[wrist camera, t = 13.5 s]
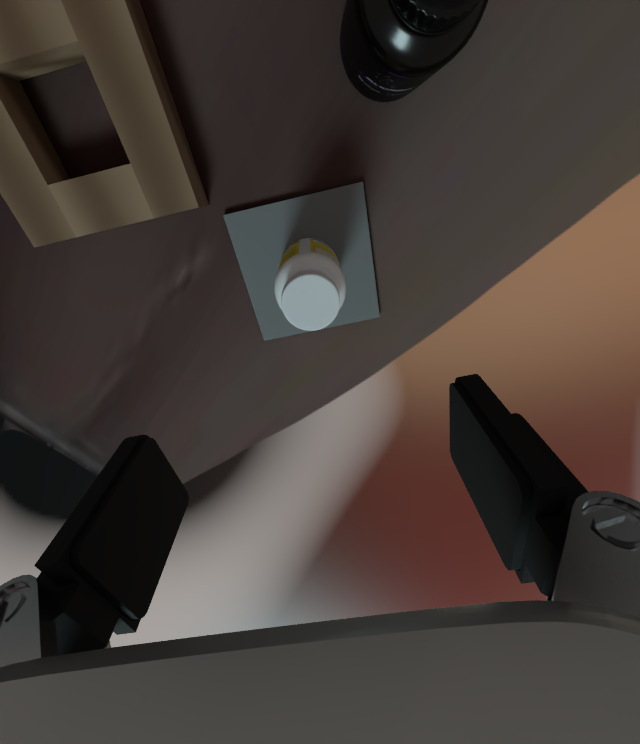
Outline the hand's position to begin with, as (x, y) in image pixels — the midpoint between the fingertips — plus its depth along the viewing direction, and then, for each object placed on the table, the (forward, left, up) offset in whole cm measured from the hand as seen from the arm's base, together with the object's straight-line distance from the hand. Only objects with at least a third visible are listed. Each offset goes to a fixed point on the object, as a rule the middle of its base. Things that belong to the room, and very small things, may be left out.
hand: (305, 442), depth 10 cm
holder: (+14, -14, -24) cm, 31 cm away
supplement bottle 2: (-9, -14, -24) cm, 29 cm away
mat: (0, 0, -24) cm, 24 cm away
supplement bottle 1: (0, 0, -23) cm, 23 cm away
